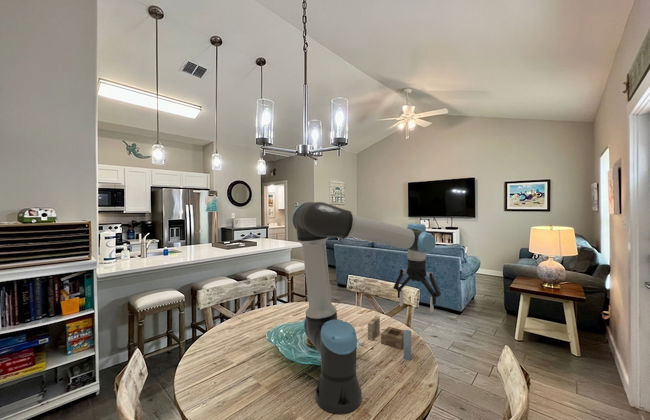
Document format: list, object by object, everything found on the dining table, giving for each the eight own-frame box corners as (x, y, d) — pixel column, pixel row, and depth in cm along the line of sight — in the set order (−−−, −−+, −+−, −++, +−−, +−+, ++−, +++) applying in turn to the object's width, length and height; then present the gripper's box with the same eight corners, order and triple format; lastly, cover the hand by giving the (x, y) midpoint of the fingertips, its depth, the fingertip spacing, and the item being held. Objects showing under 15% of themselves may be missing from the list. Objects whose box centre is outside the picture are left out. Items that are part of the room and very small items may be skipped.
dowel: (409, 363, 110) (410, 333, 110) (402, 361, 112) (402, 331, 112) (412, 360, 113) (412, 331, 113) (404, 357, 115) (405, 329, 114)
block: (400, 349, 119) (400, 339, 119) (381, 343, 124) (381, 333, 124) (407, 341, 127) (407, 331, 126) (388, 335, 132) (388, 326, 132)
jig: (401, 352, 119) (401, 332, 119) (367, 341, 128) (367, 323, 128) (408, 343, 126) (408, 324, 126) (375, 334, 135) (375, 316, 135)
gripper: (448, 261, 116) (448, 311, 116) (392, 255, 129) (392, 300, 130) (445, 264, 109) (444, 317, 110) (386, 257, 123) (386, 305, 123)
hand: (416, 308), depth 120 cm, fingers open, 12 cm apart
